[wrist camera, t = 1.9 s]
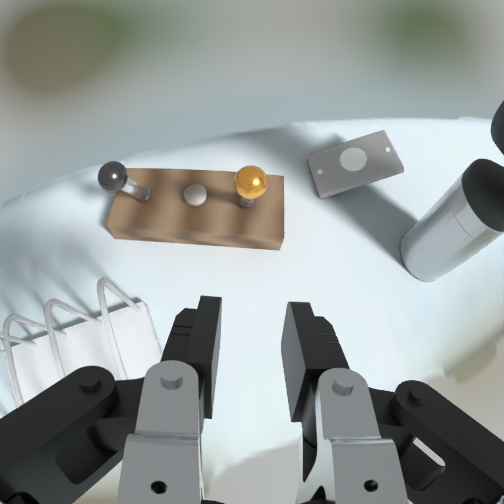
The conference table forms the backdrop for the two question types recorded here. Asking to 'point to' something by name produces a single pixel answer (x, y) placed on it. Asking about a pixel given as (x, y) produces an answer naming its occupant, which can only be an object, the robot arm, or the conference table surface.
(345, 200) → the conference table surface
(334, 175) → the light switch
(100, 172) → the lever black
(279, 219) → the switch panel
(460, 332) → the conference table surface
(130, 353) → the file sorter
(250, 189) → the lever orange
